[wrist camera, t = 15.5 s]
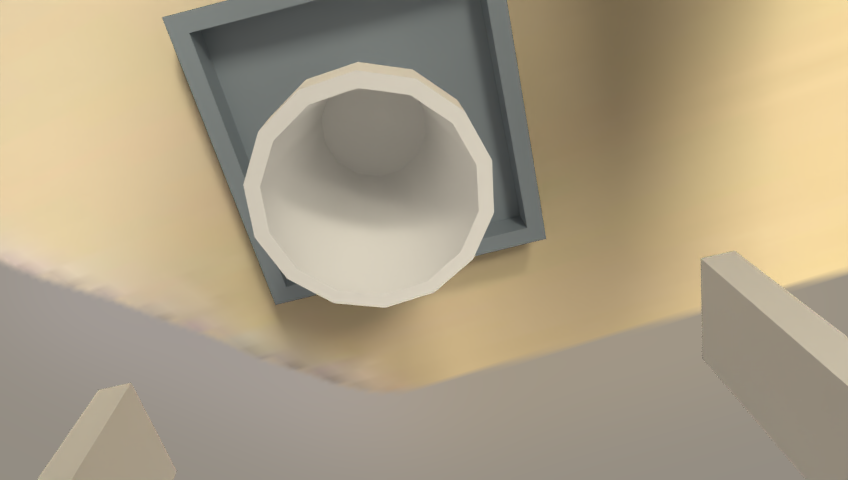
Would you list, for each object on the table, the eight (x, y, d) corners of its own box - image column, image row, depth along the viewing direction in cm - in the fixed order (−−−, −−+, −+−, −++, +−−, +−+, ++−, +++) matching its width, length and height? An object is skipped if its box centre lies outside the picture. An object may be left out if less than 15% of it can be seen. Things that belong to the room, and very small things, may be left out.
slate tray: (179, 14, 32) (162, 17, 29) (485, -66, 31) (495, -70, 29) (282, 283, 39) (275, 304, 36) (535, 221, 38) (546, 238, 36)
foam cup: (326, 218, 36) (301, 334, 24) (265, 71, 33) (199, 123, 21) (473, 171, 36) (521, 265, 24) (428, 15, 32) (457, 35, 20)
